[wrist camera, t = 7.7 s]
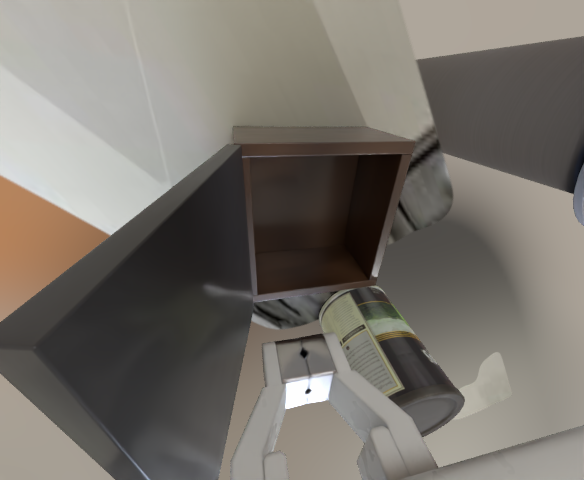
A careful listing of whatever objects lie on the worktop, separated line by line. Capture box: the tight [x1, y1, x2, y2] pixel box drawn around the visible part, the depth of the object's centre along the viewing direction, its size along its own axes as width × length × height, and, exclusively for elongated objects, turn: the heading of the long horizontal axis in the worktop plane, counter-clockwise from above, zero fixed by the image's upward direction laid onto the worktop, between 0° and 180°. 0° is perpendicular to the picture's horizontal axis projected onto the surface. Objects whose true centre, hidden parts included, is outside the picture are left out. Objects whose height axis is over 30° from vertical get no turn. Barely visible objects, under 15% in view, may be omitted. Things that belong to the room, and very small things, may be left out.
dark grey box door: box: [0, 145, 254, 480], centre depth 11 cm, size 12×13×1 cm
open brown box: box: [233, 126, 416, 302], centre depth 21 cm, size 12×13×7 cm
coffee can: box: [319, 285, 465, 444], centre depth 29 cm, size 10×10×14 cm
